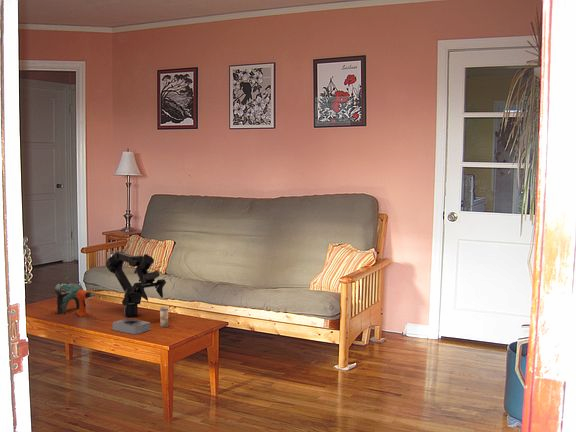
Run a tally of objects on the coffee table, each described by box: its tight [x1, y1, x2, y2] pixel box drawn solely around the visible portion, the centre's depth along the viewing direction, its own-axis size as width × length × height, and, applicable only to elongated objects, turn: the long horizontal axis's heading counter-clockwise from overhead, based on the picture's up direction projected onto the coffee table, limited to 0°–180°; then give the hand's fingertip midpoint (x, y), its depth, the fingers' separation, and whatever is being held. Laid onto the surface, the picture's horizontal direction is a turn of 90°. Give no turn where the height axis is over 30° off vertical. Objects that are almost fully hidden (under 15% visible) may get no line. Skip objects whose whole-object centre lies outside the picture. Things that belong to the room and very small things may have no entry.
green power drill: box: [54, 276, 84, 315], centre depth 348 cm, size 20×6×20 cm, turn 155°
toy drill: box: [76, 289, 96, 318], centre depth 335 cm, size 5×19×15 cm, turn 47°
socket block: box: [112, 317, 151, 335], centre depth 309 cm, size 10×16×4 cm, turn 59°
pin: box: [159, 306, 169, 328], centre depth 317 cm, size 4×4×10 cm
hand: (155, 298), depth 322 cm, fingers open, 9 cm apart
